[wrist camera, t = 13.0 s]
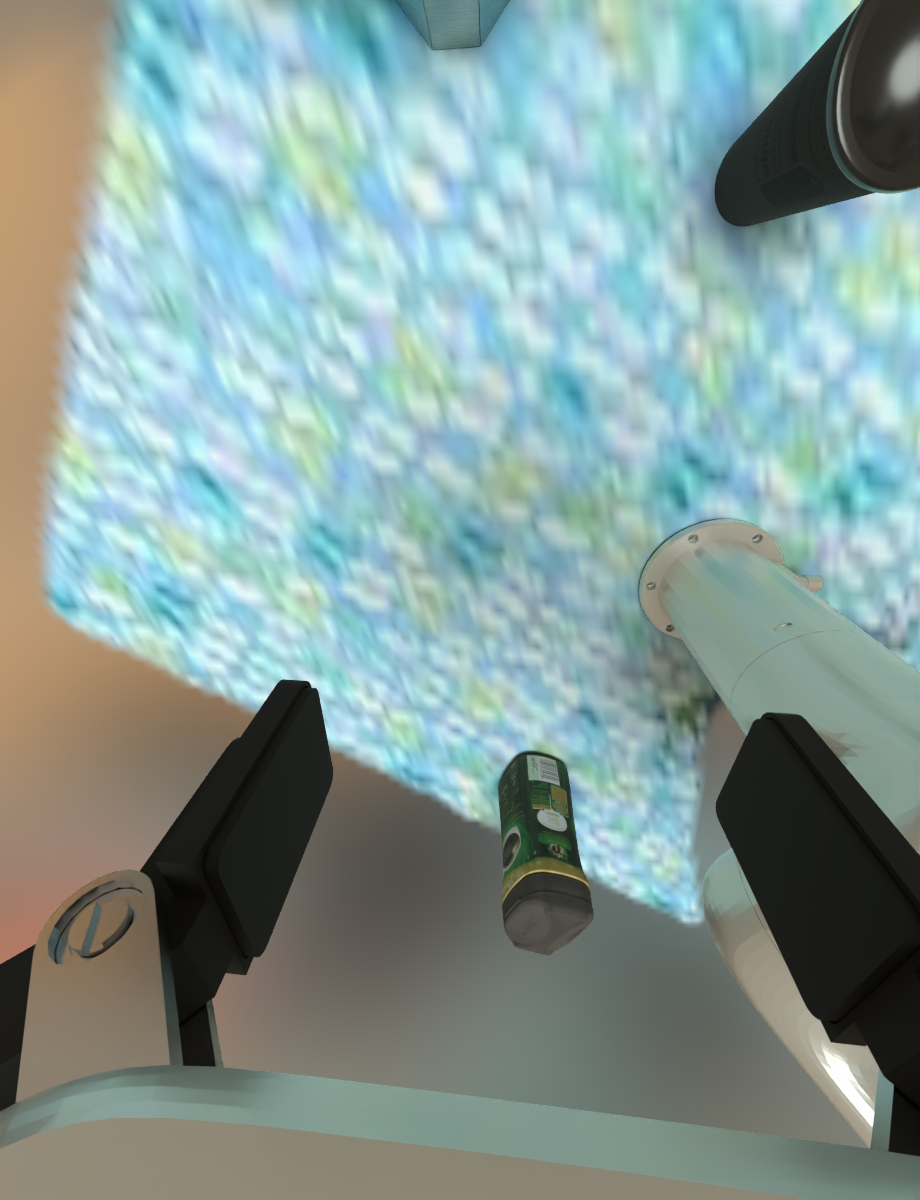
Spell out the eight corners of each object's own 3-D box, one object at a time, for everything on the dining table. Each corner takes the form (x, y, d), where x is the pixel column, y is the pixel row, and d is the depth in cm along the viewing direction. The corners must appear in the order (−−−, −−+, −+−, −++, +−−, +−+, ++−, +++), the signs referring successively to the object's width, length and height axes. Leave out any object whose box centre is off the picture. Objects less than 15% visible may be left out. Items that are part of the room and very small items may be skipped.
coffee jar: (544, 804, 60) (563, 969, 44) (491, 788, 59) (491, 951, 43) (577, 760, 56) (612, 928, 40) (520, 743, 55) (532, 907, 39)
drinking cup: (807, 239, 29) (1265, 82, 12) (687, 264, 30) (949, 150, 13) (836, 76, 26) (1560, -496, 8) (698, 109, 27) (1087, -337, 9)
